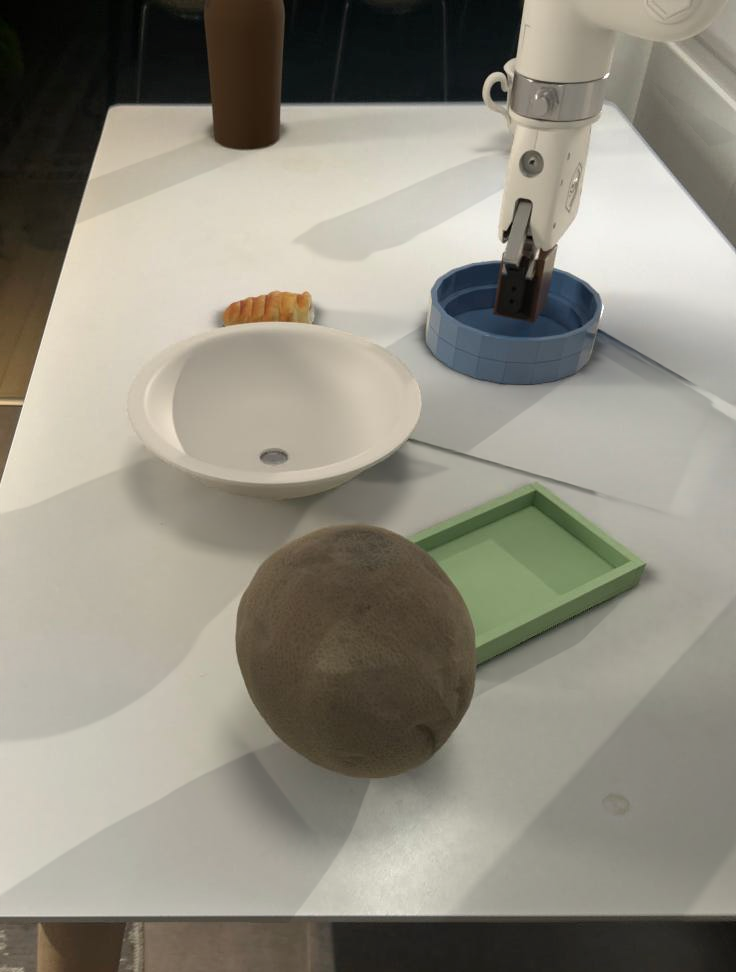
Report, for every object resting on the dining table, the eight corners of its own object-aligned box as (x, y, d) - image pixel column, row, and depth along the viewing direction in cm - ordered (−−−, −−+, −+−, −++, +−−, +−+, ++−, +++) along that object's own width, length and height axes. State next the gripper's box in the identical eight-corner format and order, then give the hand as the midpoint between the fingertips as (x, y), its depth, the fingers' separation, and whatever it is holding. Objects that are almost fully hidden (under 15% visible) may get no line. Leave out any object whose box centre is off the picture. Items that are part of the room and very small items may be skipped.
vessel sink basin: (105, 538, 76) (93, 470, 71) (165, 378, 92) (159, 314, 87) (409, 563, 73) (419, 494, 68) (416, 393, 89) (424, 328, 85)
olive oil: (250, 157, 131) (246, -66, 113) (194, 140, 136) (182, -76, 118) (299, 136, 136) (302, -80, 118) (244, 120, 141) (239, -90, 123)
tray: (531, 502, 78) (536, 481, 76) (639, 583, 71) (646, 562, 70) (356, 579, 72) (357, 558, 70) (454, 677, 65) (459, 656, 63)
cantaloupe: (448, 657, 66) (482, 482, 55) (466, 833, 56) (512, 662, 46) (246, 650, 67) (240, 476, 56) (229, 821, 57) (219, 651, 46)
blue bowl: (513, 292, 103) (522, 247, 99) (625, 358, 93) (639, 310, 90) (392, 333, 97) (397, 286, 94) (499, 407, 88) (508, 358, 84)
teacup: (460, 138, 135) (470, 58, 128) (559, 130, 137) (575, 50, 130) (489, 170, 127) (502, 86, 120) (595, 160, 129) (614, 77, 121)
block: (506, 297, 94) (516, 236, 90) (546, 305, 93) (558, 243, 89) (493, 314, 92) (502, 253, 88) (533, 323, 90) (545, 261, 86)
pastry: (220, 345, 96) (218, 309, 93) (225, 313, 101) (224, 278, 98) (313, 347, 96) (314, 311, 93) (314, 314, 100) (315, 279, 98)
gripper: (574, 133, 72) (532, 352, 86) (628, 71, 83) (583, 276, 96) (479, 120, 75) (452, 335, 88) (543, 62, 85) (510, 262, 98)
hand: (521, 302), depth 92 cm, fingers closed on block, 4 cm apart
